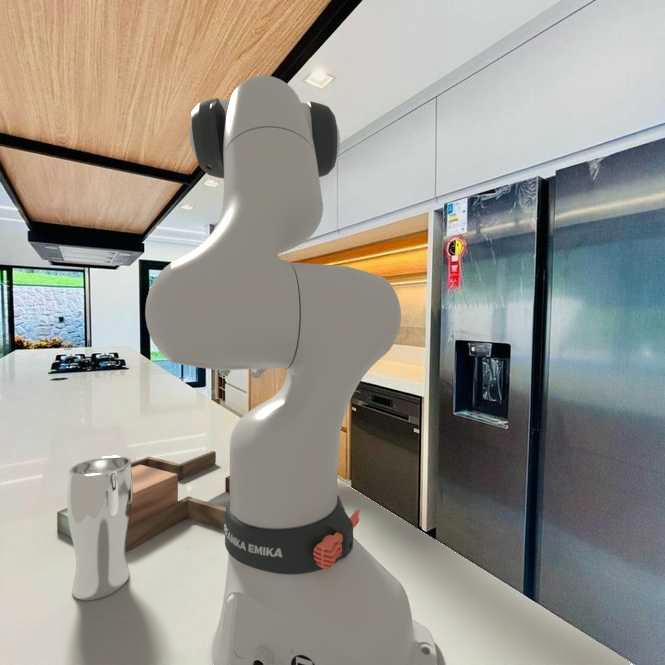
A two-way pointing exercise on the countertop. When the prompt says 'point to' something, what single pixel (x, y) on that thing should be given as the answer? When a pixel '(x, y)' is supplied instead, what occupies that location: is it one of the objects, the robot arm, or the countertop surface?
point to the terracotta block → (152, 491)
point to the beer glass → (100, 524)
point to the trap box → (176, 512)
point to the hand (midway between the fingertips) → (238, 375)
